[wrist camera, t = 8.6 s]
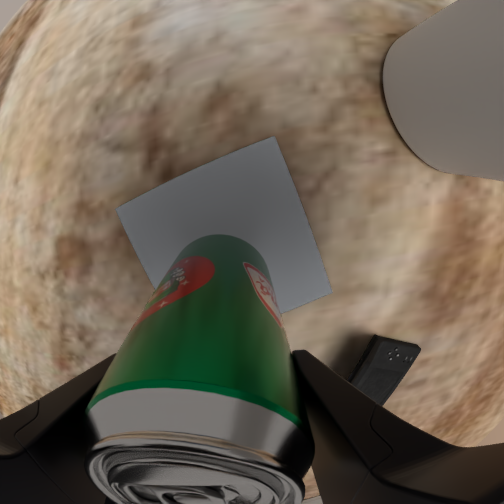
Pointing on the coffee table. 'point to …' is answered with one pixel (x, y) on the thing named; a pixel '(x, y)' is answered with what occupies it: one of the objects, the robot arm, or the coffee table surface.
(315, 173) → the coffee table surface
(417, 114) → the cylinder vase
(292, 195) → the slate mat
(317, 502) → the small box
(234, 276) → the soda can
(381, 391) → the handheld gaming console
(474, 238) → the coffee table surface
